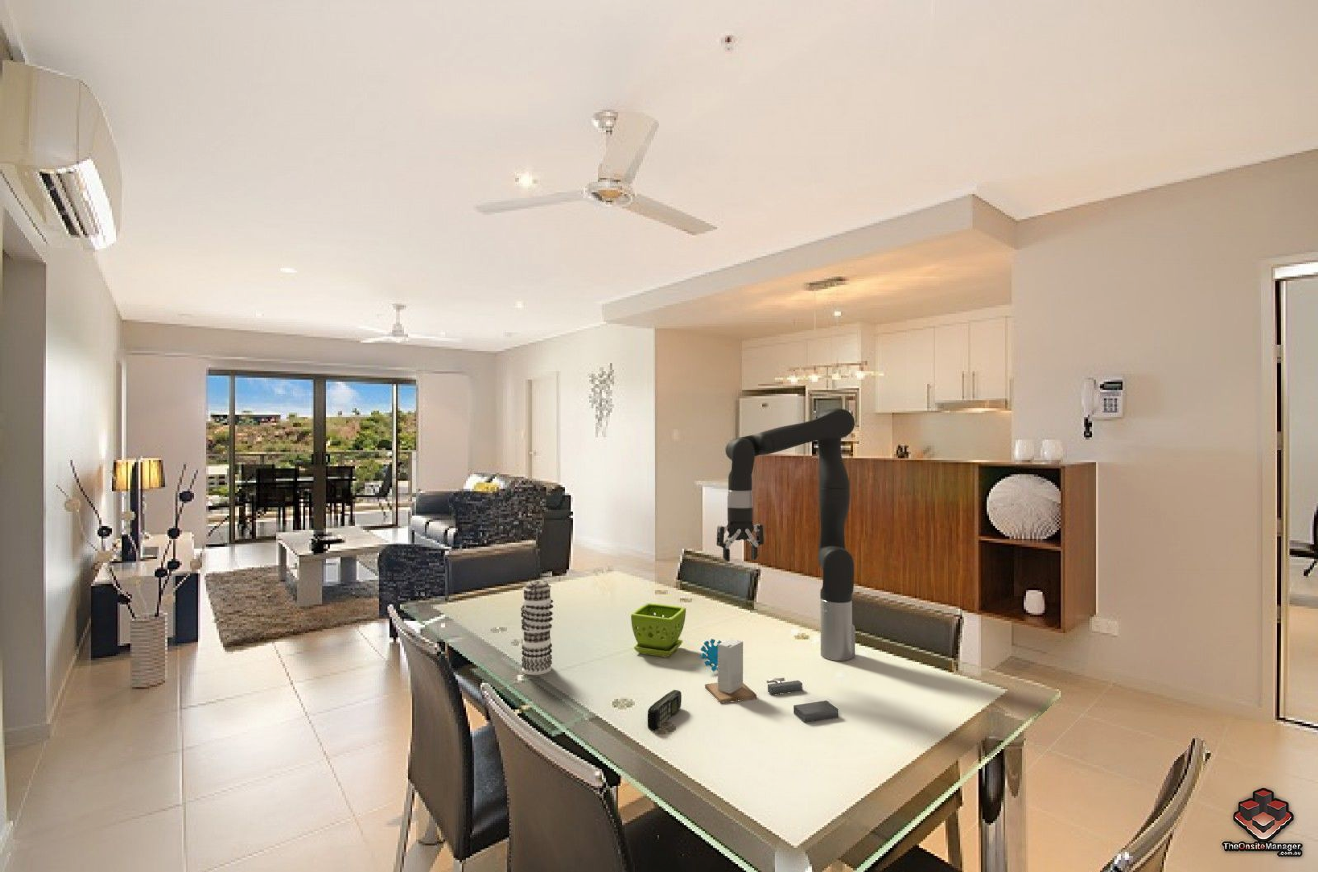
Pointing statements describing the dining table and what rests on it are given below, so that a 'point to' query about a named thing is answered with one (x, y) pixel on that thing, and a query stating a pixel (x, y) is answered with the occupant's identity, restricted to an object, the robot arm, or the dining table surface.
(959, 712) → the dining table surface
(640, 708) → the dining table surface
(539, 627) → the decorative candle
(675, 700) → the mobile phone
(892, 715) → the dining table surface
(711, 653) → the gear
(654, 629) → the flower pot
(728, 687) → the skincare box
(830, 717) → the dark grey blocks
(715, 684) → the coaster
